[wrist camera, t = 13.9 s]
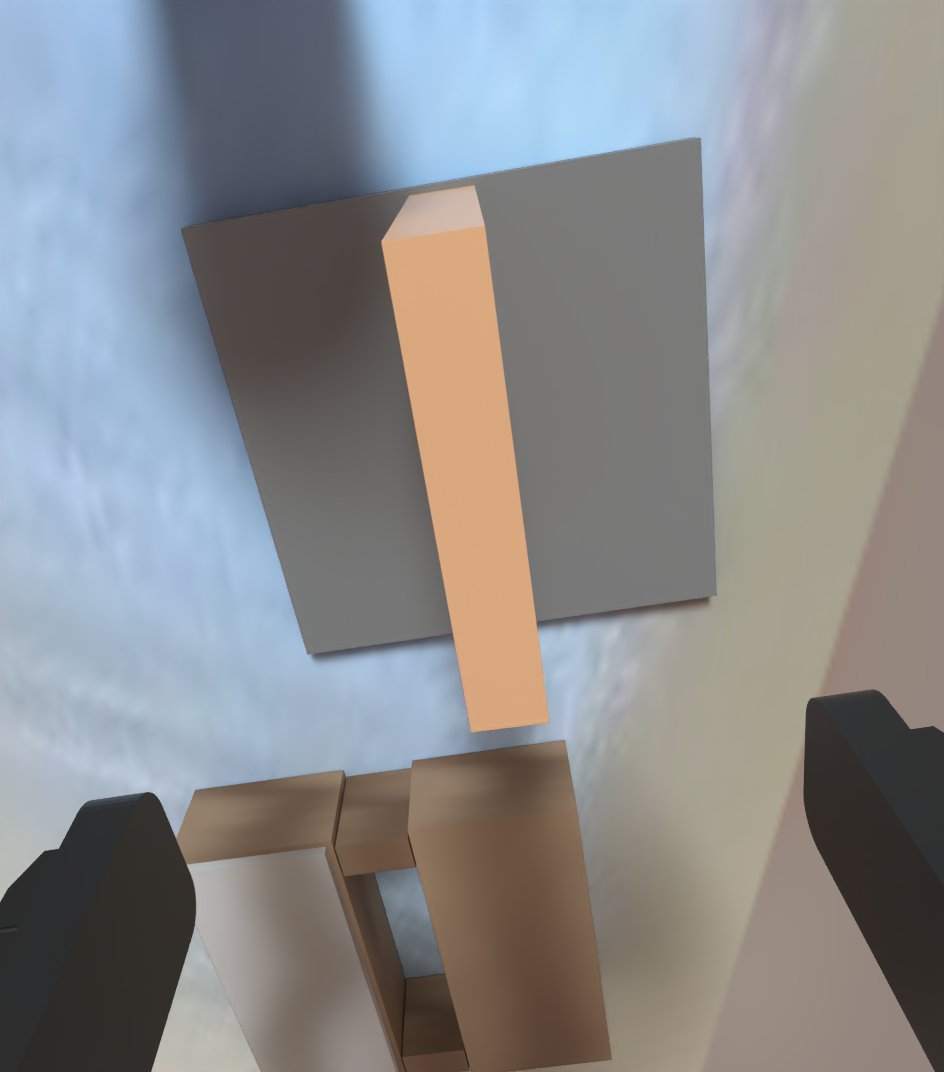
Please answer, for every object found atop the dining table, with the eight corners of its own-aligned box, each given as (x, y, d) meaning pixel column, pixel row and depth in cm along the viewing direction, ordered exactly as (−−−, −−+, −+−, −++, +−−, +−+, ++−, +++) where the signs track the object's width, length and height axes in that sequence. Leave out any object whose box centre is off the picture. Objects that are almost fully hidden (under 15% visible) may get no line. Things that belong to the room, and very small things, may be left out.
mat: (310, 643, 25) (307, 654, 25) (188, 226, 20) (180, 229, 19) (711, 585, 25) (716, 595, 24) (694, 137, 19) (700, 138, 19)
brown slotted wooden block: (287, 1018, 33) (271, 1106, 30) (195, 790, 28) (163, 870, 25) (598, 981, 32) (613, 1068, 29) (564, 740, 27) (578, 816, 24)
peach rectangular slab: (470, 732, 16) (381, 241, 12) (466, 542, 23) (409, 195, 19) (549, 722, 16) (484, 225, 12) (520, 535, 23) (474, 185, 19)
